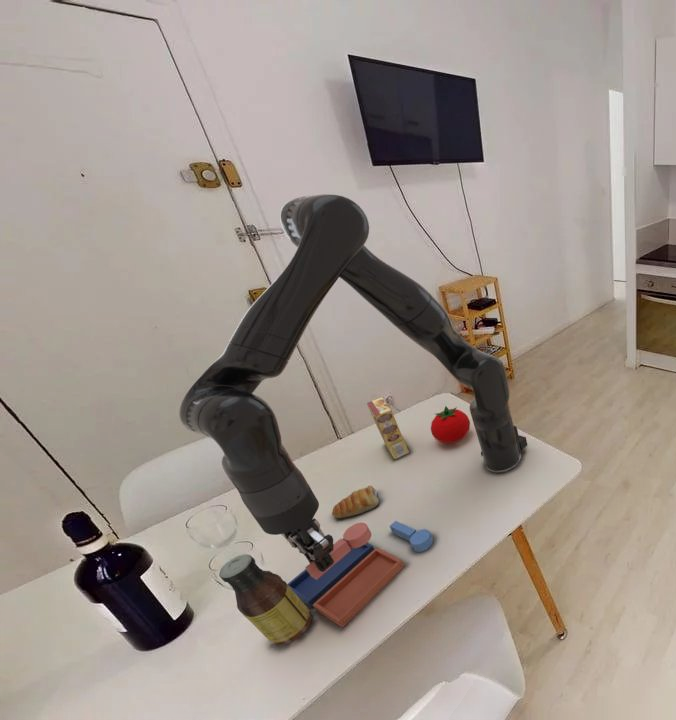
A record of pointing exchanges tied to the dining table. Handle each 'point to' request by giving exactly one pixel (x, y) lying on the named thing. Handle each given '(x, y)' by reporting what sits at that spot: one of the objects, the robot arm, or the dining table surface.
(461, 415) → the tomato
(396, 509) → the dining table surface
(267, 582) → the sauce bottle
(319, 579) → the blue tray
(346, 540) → the rose spoon
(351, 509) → the pastry
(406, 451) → the candy box
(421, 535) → the blue spoon
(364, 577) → the rose tray
